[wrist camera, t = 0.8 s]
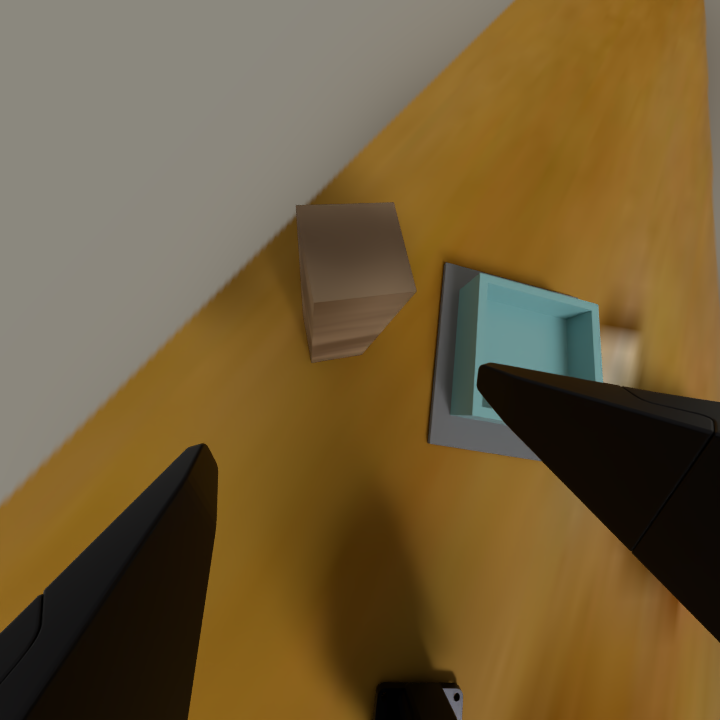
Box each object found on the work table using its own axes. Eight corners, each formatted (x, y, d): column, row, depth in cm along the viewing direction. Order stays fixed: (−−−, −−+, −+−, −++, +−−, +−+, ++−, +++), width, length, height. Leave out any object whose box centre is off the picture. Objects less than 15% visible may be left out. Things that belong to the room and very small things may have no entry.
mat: (580, 467, 25) (585, 467, 25) (427, 442, 23) (429, 443, 22) (574, 299, 29) (577, 298, 29) (444, 264, 27) (446, 262, 27)
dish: (569, 436, 25) (606, 439, 22) (450, 415, 23) (472, 415, 20) (565, 316, 28) (598, 304, 25) (459, 289, 26) (480, 272, 23)
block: (361, 354, 23) (416, 291, 11) (311, 362, 22) (313, 302, 10) (351, 308, 24) (393, 202, 12) (303, 314, 23) (295, 205, 11)
